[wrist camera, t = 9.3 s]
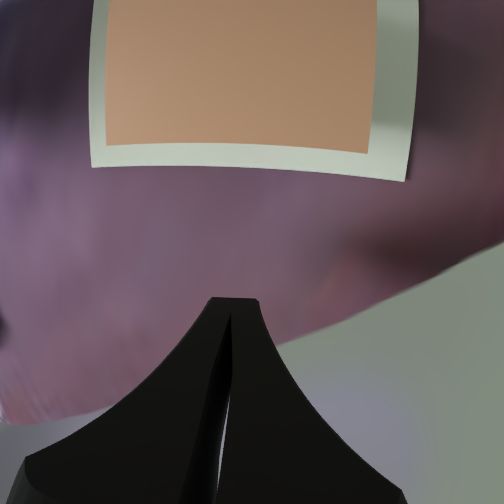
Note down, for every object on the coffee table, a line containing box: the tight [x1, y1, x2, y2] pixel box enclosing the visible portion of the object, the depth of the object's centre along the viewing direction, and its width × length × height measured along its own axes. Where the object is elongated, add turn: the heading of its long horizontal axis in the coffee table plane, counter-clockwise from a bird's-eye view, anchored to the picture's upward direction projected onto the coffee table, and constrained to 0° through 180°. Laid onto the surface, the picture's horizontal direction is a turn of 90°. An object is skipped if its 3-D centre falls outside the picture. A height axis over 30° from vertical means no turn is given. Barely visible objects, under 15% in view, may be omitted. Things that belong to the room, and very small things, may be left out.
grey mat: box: [89, 0, 419, 182], centre depth 11 cm, size 14×12×1 cm
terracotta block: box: [105, 0, 377, 154], centre depth 8 cm, size 4×4×8 cm
